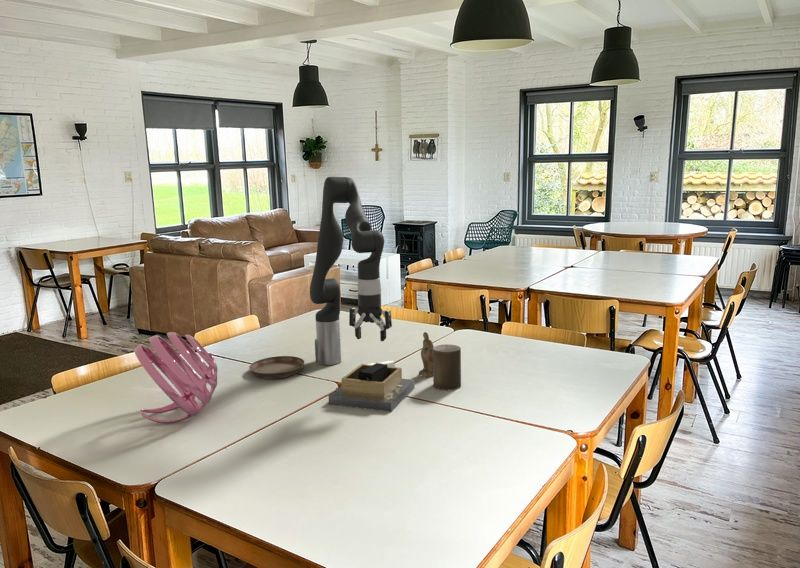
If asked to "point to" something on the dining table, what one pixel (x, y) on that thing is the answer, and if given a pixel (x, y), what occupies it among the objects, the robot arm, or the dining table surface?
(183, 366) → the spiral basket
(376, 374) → the digital camera
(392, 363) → the white offset rectangular block
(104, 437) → the dining table surface
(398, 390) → the square wooden box
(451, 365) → the pillar candle
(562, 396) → the dining table surface
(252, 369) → the plant saucer
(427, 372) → the worn brown figurine
